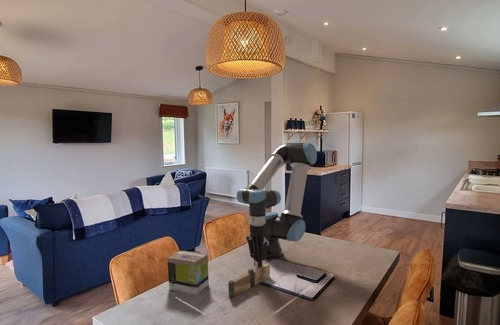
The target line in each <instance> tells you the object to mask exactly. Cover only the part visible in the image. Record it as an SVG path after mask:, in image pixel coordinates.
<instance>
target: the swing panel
mask: <svg viewBox="0 0 500 325" xmlns="http://www.w3.org/2000/svg"><path fill="white" fill-rule="evenodd" d="M270 265H271V264H270V263H264V264H262V266H260V267H258V268H256V269H253V268H249V269H248V270H247V273H248V274H250V285H251V287H250V288H252V287H254V286H256V285H259V284H260V283H261V282H263V281H265V280H267V279H269V278H270V277H271V270H270V269H271V266H270Z"/></svg>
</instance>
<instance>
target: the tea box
mask: <svg viewBox="0 0 500 325" xmlns="http://www.w3.org/2000/svg"><path fill="white" fill-rule="evenodd" d="M208 260H209V259H208V254H206V253H200V252H193V251H186V250H180V251H178V252H176V253H174V254H172V255H170V256H169V257H167V274H168V276H167V277H168V289H169V290H170V291H175V292H181V293H182V292H183V293H187V294H192V295H195V296H197V295H198V294H200V293H201V292H202V291H203V290H204V289H206V288H207V287H209V285H210V284H209V283H210V282H209V280H210V279H209V276H210V275H209V261H208Z"/></svg>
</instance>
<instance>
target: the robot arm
mask: <svg viewBox="0 0 500 325" xmlns="http://www.w3.org/2000/svg"><path fill="white" fill-rule="evenodd" d="M317 159H318V152H317V149H316V146H315V145H314V144H313V143H311V142H288V143H284V144H282V145H280V146H279V147H277V148H276V149H274V150H273V152H272V153H270V155H269V157H268V160H267V161H266V163H264V165H263V166H262V167H261V169H260V170H259V171H258V172H257V174H255V176H254V177H253V179H252V180H251V181H250V182H249V184H248V185H247V186H246V187H245V188H244V187H243V188H240V189H238V190H237V192H236V199H237V201H238V202H239V203H241V204H243V205H248V206H249V207H248V208H249V219H248V220H249V222H248V223H249V226H248V227H249V233H250V234H249V235H247V236H246V237H245V240H246V241H247V244H248V249H249V254H250V255H249V256H250V258H252V259H253V262H254V263H253V266H254V268H255V269H256V268H258V267H260V266H262V265H263V261H265V260H271V259H272V260H273V259H277V258H280V257H281V256H282V255H283V250H282V246H281V243H280V241H279V239H280V240H284V241H285V240H286V241H288V242H295V243H296V242H299V241H300V240H301V239H302V238H303V237H304V235H305V232H306V221H305V220H304V218H303V215H302V214H301V212H302V205H303V200H304V195H305V189H306V188H305V187H306V182H307V176H308V173H309V172H308V171H309V170H311V169H312V165H314V164H316V162H317ZM286 164H289V165H290V167H291V173H290V178H289V185H288V189H287V194H286V201H285V207H284V210H283V211H281V213H280V216H279V214H278V212H277V211H268V212H267V211H266V210H267V209H269V208H272V207H275V206H277V205H279V204H280V203H281V200H282V197H281V193H280V192H279V191H278V190H276V189H273V190H272V189H270V190H264V189H265V188H266V186H267V185H268V184H269V182H270V181H271V180H272V178H273V177H274V176H275V174H277V172H278V170H279V169H280V168H283V167H284V166H285V165H286Z"/></svg>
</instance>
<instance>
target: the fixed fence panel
mask: <svg viewBox="0 0 500 325" xmlns="http://www.w3.org/2000/svg"><path fill="white" fill-rule="evenodd" d="M227 288H228V298H229V299H234V298H235V297H236V296H238V295H240V294H242V293H244V292H245V291H248V289H250V288H252V287H251V285H250V274H248V272H247V273H246V272H245V273H244V274H243V275H240V276H238V277H236V278H234V279H232V280H229V281H228V287H227Z"/></svg>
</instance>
